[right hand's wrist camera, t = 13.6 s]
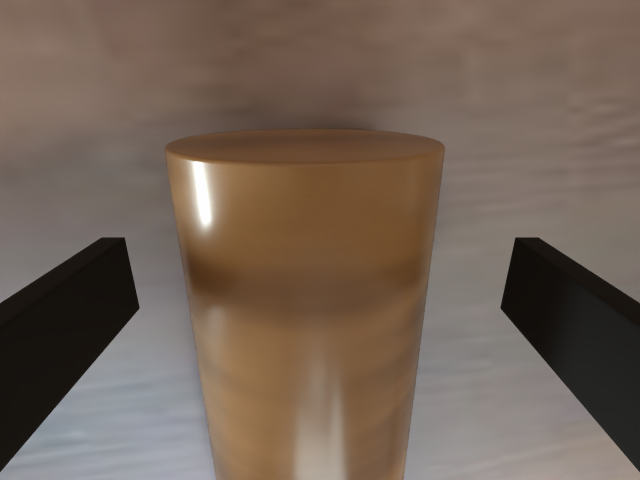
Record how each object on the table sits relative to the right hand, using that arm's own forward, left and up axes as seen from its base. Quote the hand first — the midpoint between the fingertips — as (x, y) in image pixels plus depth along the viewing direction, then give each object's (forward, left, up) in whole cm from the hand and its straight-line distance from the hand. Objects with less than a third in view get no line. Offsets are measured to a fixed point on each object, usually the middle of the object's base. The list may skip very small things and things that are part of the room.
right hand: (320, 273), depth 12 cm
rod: (+2, +7, -5) cm, 9 cm away
